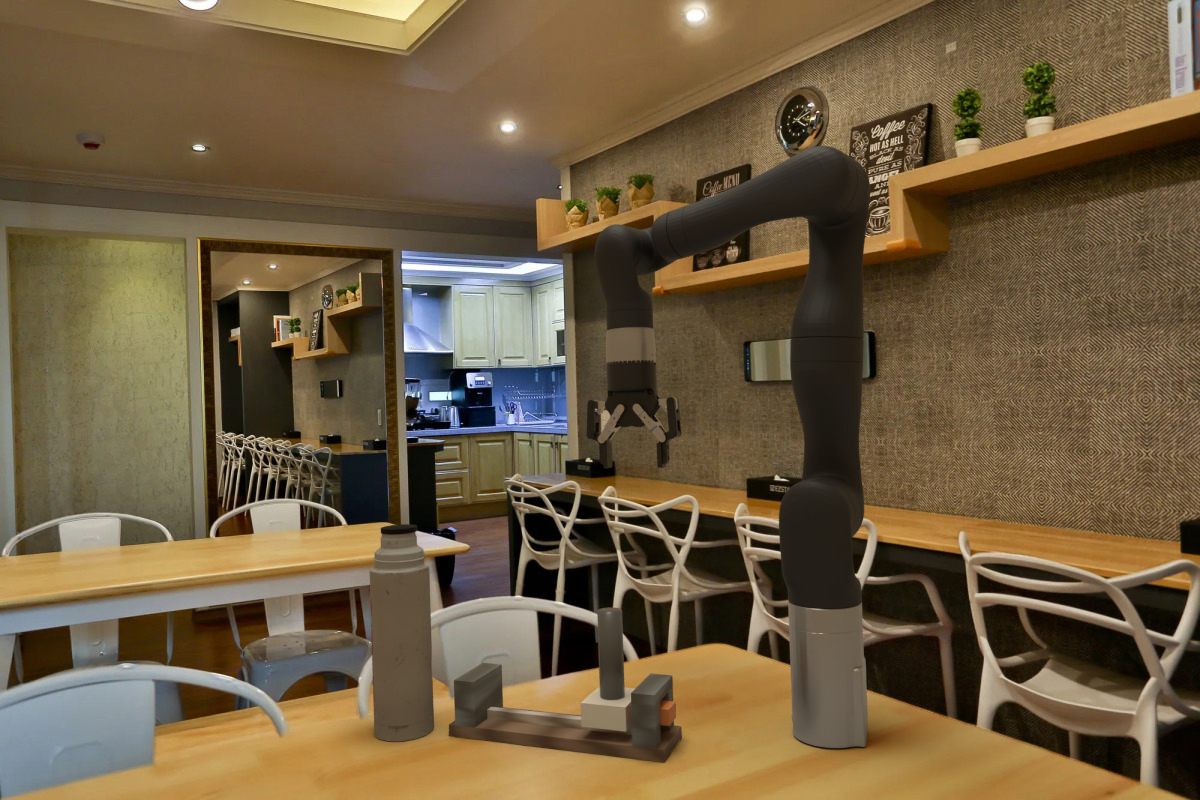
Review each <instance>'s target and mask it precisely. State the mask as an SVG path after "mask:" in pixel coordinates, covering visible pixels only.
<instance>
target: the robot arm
mask: <svg viewBox="0 0 1200 800" xmlns="http://www.w3.org/2000/svg"><path fill="white" fill-rule="evenodd" d="M870 202H871V184H870V179H869V176H868V173H867V171H866V169H865V168H864V167H863V165H862V164H861V163H860V162H859V161H858V160H856V159H855V158H853V157H851V156H850V155H848V154H847V153H845V152H843V151H842V150H840V149H837V148H836V147H832V146H828V145H817V146H813V147H809V148H807V149H805V150H803V151H800V152H798V153H797V154H795V155H793V156H790V158H787V159H786V160H783V161H782V162H780V163H779V164H777V165H775V166H773V167H772V168H770V169H768V170H766V171H764V172H763V173H762V172H761V174H758V175H756V176H754V177H752V178H750V179H748V180H747V181H745V182H742V183H740V184H738V185H736V186H734V187H733V188H730V189H727V190H725V191H722V192H720V193H717V194H714V195H713V196H710V197H706V198H705V199H701V200H698V201H695V202H693V203H690V204H687V205H684V206H681V207H677V208H674V209H672V210H670V211H667V212H665V213H662V214H661V215H659V216H658V217H657V218H655V220H654V221H653V224H652V226H651V227H650V226H649V227H648V228H642V229H639V228H635V227H632V226H627V225H623V224H611V225H608V226H606V227H605V228H604V229H602V231H601V232H600V234H598V237H597V239H596V242H595V246H594V262H595V268H596V273H597V276H598V281H599V284H600V288H601V290H602V294H603V298H604V301H605V306H606V307H605V312H606V313H605V314H606V315H605V316H606V318H605V319H606V341H605V361H606V363H605V364H606V365H605V366H606V371H605V372H606V391H607V396H606V399H605V400H598V399H590V400H588V401H587V403H586V404H587V406H586V407H587V409H586V410H587V411H586V438H587V439H589V440H592V441H594V442H597V443H598V448H599V463H600V465H602V466H603V468H604V469H610V468H612V467H613V443H612V442H611V440H612V439H613V437H614V436H615V434H616V433H617V432H618V431H619V430H620V428H631V427H634V428H644V427H646V428H647V429H648V430H649V431H650V432H652V434H653V435H654V437H655V438H656V439H657V440H658V442H656V465H657V469H664V468H666V467H667V464H669V463H670V442H671V441H672V440H673V439H676V438H679V437H681V435H682V434H683V433H682V423H681V422H682V421H681V413H680V411H681V409H680V402H679V400H680V399H679V398H678V397H676V396H669V397H666V398H659V395H658V381H657V380H658V378H657V376H658V375H657V374H658V373H657V359H658V357H657V350H656V349H657V347H656V339H655V338H656V337H655V334H654V333H655V331H654V313H653V312H654V310H653V309H654V308H653V299H652V297H651V295H650V293H649V292H648V291H647V290H645V289H644V288H642V286H641V285H640V281H639V278H638V277H640V276H641V277H643V276H646V275H650V274H653V273H655V272H658V271H661V270H662V269H664V268H665V267H668V266H670V265H671V264H673V263H675V262H676V261H678V260H682V259H686V258H689V257H692V256H697V255H698V254H703V253H706V252H708V251H711V250H715V249H716V248H717V249H718V248H719V247H721V246H723V245H725V244H727V243H728V242H730V241H732V240H733V239H735V238H736V237H738V236H740V235H741V234H743V233H745V232H747V231H748V230H750V229H753V228H755V227H758V226H761V225H763V224H767V223H771V222H774V221H780V220H786V219H787V220H788V219H795V218H803V219H805V220H807V226H808V227H807V228H808V243H809V244H808V246H809V247H808V248H809V250H808V253H809V255H808V265H807V272H806V276H805V279H804V283H803V285H802V289H801V292H800V294H799V297H798V299H797V302H796V306H795V309H794V312H793V316H792V321H791V327H790V343H789V344H790V346H789V347H790V348H789V349H790V351H789V352H790V357H789V360H790V361H789V362H790V363H789V364H790V365H789V369H790V380H791V386H792V390H793V395H794V399H795V403H796V408H797V411H798V414H799V419H800V422H801V426H802V427H801V428H802V433H803V441H804V442H803V449H804V450H803V467H802V476H801V481H799V482H797V483H795V484H793V485H792V486H791V487H790V488H789V489H787V490H786V492H785V493H784V495H783V497H782V499H781V501H780V504H779V510H778V511H779V512H778V534H779V536H778V537H779V546H780V547H779V549H780V550H779V551H780V562H781V565H780V566H781V574H782V578H783V580H784V583H785V586H786V589H787V599H788V600H787V603H788V605H787V606H788V607H787V608H788V609H787V611H788V628H789V629H788V633H789V638H788V639H789V660H790V663H789V664H790V665H789V666H790V687H791V689H790V692H791V694H790V695H791V721H792V734H793V736H794V737H795V738H796V739H797V740H799V741H801V742H803V743H805V744H807V745H811V746H815V747H820V748H827V749H845V748H853V747H860V748H861V747H862V748H865V747H866V745H867V739H868V732H869V719H868V717H869V715H868V694H867V693H868V692H867V691H868V690H867V687H868V686H867V665H866V657H865V655H864V653H865V651H864V630H863V629H864V627H863V623H864V621H863V599H862V598H863V596H862V584H861V581H860V580H859V579H858V577H857V576H856V572H855V567H854V557H853V555H854V554H853V541H852V538H853V537H854V536H855V535H856V534H857V533H858V532H859V530H860V528H861V527H862V524H863V520H864V517H865V500H864V499H865V498H864V490H863V489H864V486H863V477H862V467H861V457H860V456H861V454H860V425H861V416H862V415H861V413H862V398H863V396H862V395H863V373H864V342H865V341H864V338H865V337H864V333H865V332H864V267H863V266H864V254H865V253H864V251H865V240H866V233H867V224H868V218H869V217H868V215H869V209H870ZM660 407H661V408H662V410H663V411H664V412H665V413H666V414H667V424H668V431H667V430H666V429H665V427H664V426H663V424H662V422H661V420H659V418H658V417H657V416H656V413H657V412H658V410H659V409H660ZM604 410H606V411H607V413H608V414H609V416H610V417H609V418H608V421H607V422H606V423H605V425H604V427H603V430H602V431H601V415H602V414H603V413H604Z"/></svg>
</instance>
